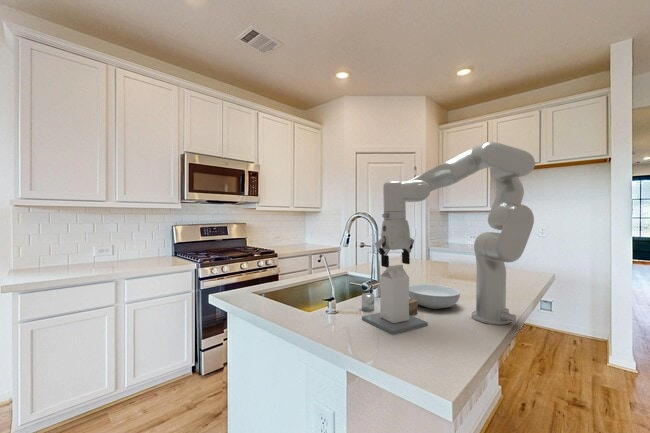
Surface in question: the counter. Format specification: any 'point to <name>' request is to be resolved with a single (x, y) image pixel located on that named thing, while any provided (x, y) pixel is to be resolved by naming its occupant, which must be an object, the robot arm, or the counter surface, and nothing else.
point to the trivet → (394, 327)
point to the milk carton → (394, 294)
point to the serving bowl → (434, 295)
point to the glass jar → (368, 302)
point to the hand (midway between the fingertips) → (395, 265)
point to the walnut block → (413, 306)
